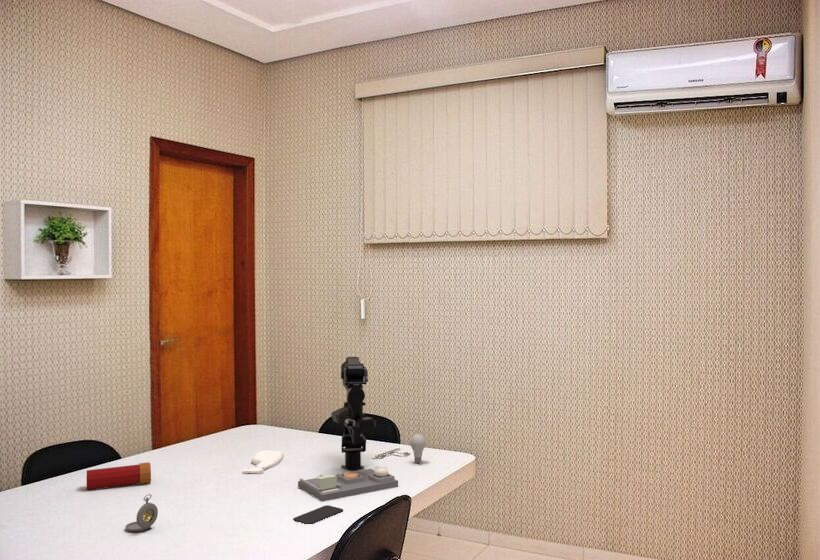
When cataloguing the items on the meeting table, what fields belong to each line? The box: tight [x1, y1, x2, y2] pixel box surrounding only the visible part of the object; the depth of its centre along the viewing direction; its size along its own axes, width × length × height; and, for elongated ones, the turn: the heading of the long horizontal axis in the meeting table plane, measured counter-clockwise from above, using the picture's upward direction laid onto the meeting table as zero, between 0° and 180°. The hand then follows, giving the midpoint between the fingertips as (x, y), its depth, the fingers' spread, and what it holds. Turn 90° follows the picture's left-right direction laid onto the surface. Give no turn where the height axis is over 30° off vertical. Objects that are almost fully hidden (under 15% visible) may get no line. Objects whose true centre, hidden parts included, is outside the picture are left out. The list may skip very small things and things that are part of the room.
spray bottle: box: [241, 450, 284, 474], centre depth 254 cm, size 3×11×24 cm
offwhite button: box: [374, 466, 389, 477], centre depth 228 cm, size 5×5×2 cm
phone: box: [292, 504, 344, 525], centre depth 198 cm, size 7×1×15 cm
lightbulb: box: [409, 433, 427, 464], centre depth 257 cm, size 6×6×11 cm
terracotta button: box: [344, 471, 358, 479], centre depth 227 cm, size 5×5×2 cm
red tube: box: [86, 461, 152, 491], centre depth 227 cm, size 7×20×7 cm, turn 114°
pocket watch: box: [125, 493, 159, 533], centre depth 186 cm, size 8×8×10 cm
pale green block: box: [316, 474, 337, 490], centre depth 218 cm, size 2×6×4 cm, turn 124°
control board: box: [297, 468, 399, 502], centre depth 226 cm, size 18×28×4 cm, turn 124°
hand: (354, 443), depth 237 cm, fingers closed
